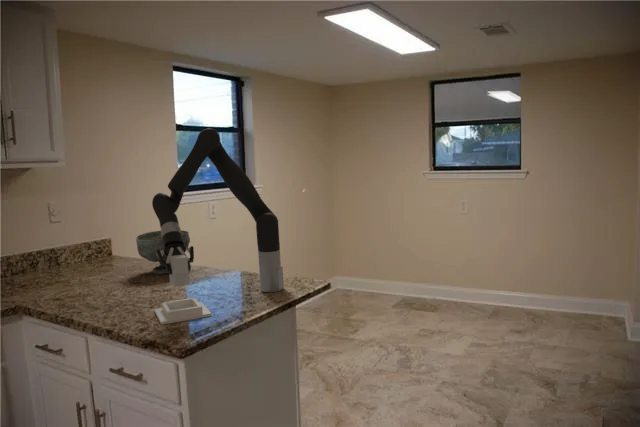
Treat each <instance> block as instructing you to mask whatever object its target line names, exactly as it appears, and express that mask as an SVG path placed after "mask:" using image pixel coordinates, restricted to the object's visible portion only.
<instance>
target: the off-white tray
mask: <svg viewBox="0 0 640 427" xmlns="http://www.w3.org/2000/svg"><path fill="white" fill-rule="evenodd" d="M153 311H154V313H155V315H156V316H155V317H157V320H158V322H159V323H160V325H161V326H162V325H166V324H167V325H168V324H173V323H178V322H184V321H191V320H196V319H201V318H207V317H212V312H211V311H210V310H209V308H208V307H207V306H205V304H204V303H203V302H202V301H198V300H197V299H196V298H195V297H191V298H184V299H178V300H171V301H170V300H169V301H164V302H161V307H160V308H154V310H153Z"/></svg>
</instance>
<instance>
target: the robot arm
mask: <svg viewBox="0 0 640 427" xmlns="http://www.w3.org/2000/svg"><path fill="white" fill-rule="evenodd" d="M207 158H208V159H209V160H210V162H211V163H212V164H213V165H214V166H215V168H216V170H217V172H218V174H219V175H220V177H221V178H222V180H223V181H224V184H225V185H226V186H227V188H228V189H229V190H230V192H231V193H232V194H233V196H234V197H235V198H236V199H237V200H238V201H239V203H241V204H242V205H243V206H244V207H245V209H247V210H248V212H249V214H250V215H251V216H252V218H253V220H254V222H255V230H256V244H257V252H258V255H257V256H258V271H259V284H260V291H261V292H263V293H277V292H280V291H282V290H283V289H285V288H284V287H285V286H284V269H283V266H282V264H281V247H280V246H281V245H280V232H279V231H280V230H279V219H278V217H277V216H276V214H275V213H274V212H273V211H272V210H271V209H270V208H269V207H268V206H267V204H266V203H265V202H264V200H263V199H262V197H261V196H260V194H259V192H258V191H257V189H256V187H255V186H254V184H253V182H252V181H251V179H250V178H249V176H248V175H247V174H246V173H245V171H244V170H243V169H242V168H241V167H240V165H239V164H237V162H236V161H235V160H234V159H233V158H231V156H230V155H229V154H228V152H227V151H226V149H225V147H224V146H223V144H222V142H221V136H220V134H219V132H218V131H217V130H216V129H214V128H209V127H207V128H205V129H203V130H200V132H199V133H198V135H197V138H196V141H195V143H194V145H193V147H192V149H191V150H190V153H189V154H188V156H187V157H186V159H185V160H184V161H183V163H182V164H181V165H180V167H179V168H178V169H177V171H176V172H175V173H174V175H173V176H172V178H170V179H171V180H170V181H169V183H168V184H167V188H168V189H169V190H170V195H168V194H167V193H164V192H158V193H156V194H155V195H154V196H153V198H152V202H151V204H152V205H151V206H152V208H153V211H154V214H155V215H156V217H157V219H158V221H159V227H160V231H161V235H162V240H163V245H164V250H162V251H160V250H157V258H158V260H159V265H161V266H166V269H167V273H166V274H168V275H172V270H171V265H170V264H169V262H170V260H169V257H171V256H175V255H184V256H186V257H187V259H188V271H189V272H191V269H192V266H191V263H194V259H195V255H194V254H195V253H194V252H195V251H194V250H195V249H194V247H193V246H192V245H191V246H190V247H188V248H186V247H185V245H184V242H183V237H182V233H181V231H182V230H181V227H180V223H179V219H178V216H177V214H176V212H177V211H178V210H179V207H180V204H181V202H182V199H183V196H184V193H185V191H186V190H187V189H188V187H189V186H190V184H191V182H193V180H194V178H195V176H196V175H197V173H198V171H199V170H200V168H201V166H202V164H203V163H204V161H205V160H207ZM186 252H187V253H188V254H189V257H188V255H187V254H186ZM163 254H165V255H166V256H168V257H167V261H164V260H163V257H162V256H163Z"/></svg>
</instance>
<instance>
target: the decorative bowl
mask: <svg viewBox="0 0 640 427" xmlns="http://www.w3.org/2000/svg"><path fill="white" fill-rule="evenodd" d="M181 233H182V237H183V242H184V245H185V247H186V248H189V244H190V243H191V238H190V235H189V234H190V233H189V231H187V230H181ZM135 240H136V247H137V253H138V255H139V256H140V257H141V258H143V259H145V260H147V261H149V262H153V263H157V262H159V260H158V258H157V250H160V251H162V250H164V245H163V240H162V235H161V230H156V231H148V232H145V233H141V234H139V235H137V236H136V237H135ZM162 257H163V260H164V261H167V257H168V256H166V255H165V254H163V256H162ZM152 273H153V274H157V275H159V274H160V275H163V274H168V273H167V269H166V266H161V265H160V264H159V265H158V266H155V267H154V268H153V269H152Z"/></svg>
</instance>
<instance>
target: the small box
mask: <svg viewBox="0 0 640 427" xmlns="http://www.w3.org/2000/svg"><path fill="white" fill-rule="evenodd" d="M186 256H187V255H186ZM186 256H184V255H175V256H171V257H169V260H170V262H169V264H170V265H171V270H172V275H169V274H168V275H169V284H171V285H172V286H173V287H174V288H176V287H184V286H189V285H191V284H190V271H188V259H187V257H188V256H187V257H186Z"/></svg>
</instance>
